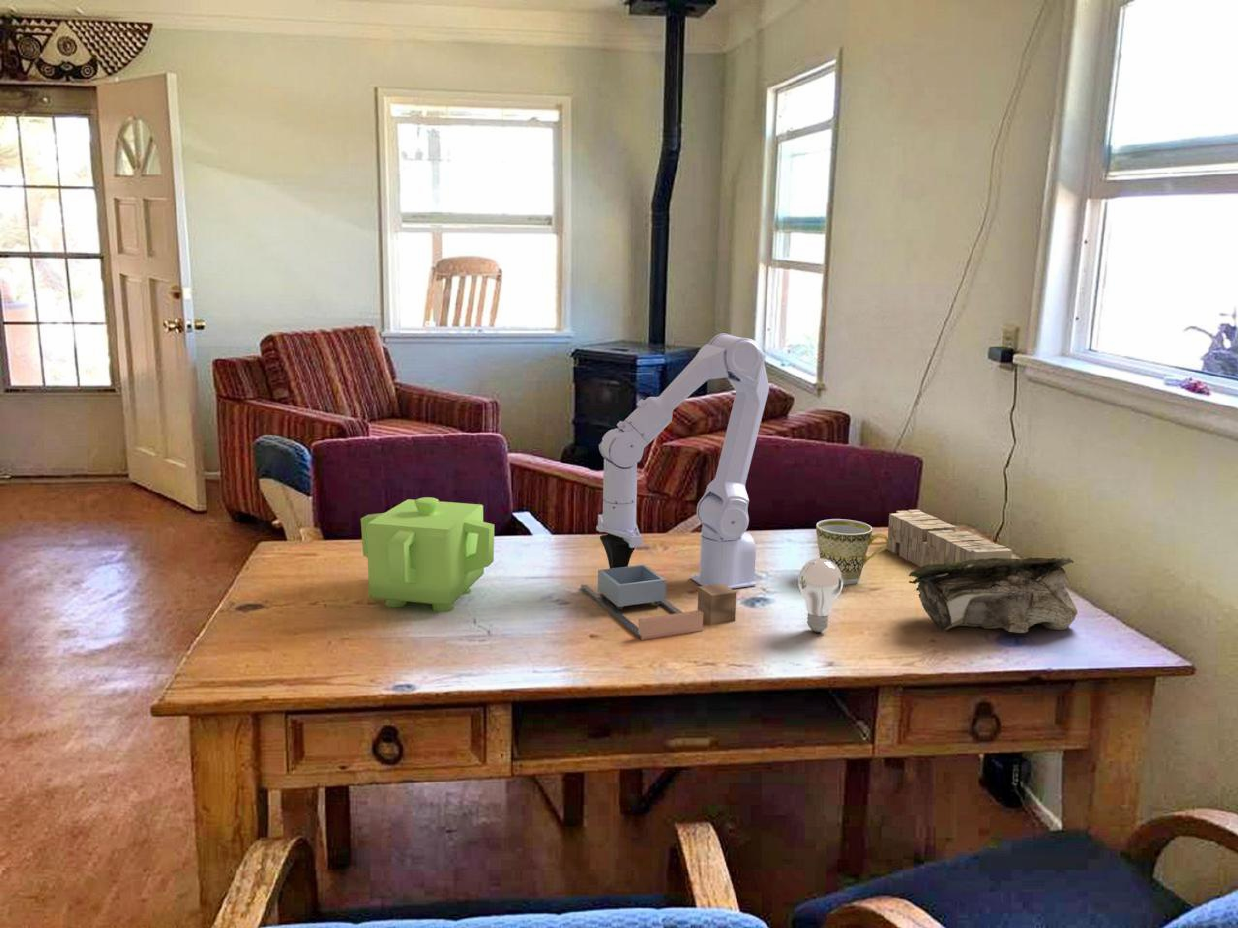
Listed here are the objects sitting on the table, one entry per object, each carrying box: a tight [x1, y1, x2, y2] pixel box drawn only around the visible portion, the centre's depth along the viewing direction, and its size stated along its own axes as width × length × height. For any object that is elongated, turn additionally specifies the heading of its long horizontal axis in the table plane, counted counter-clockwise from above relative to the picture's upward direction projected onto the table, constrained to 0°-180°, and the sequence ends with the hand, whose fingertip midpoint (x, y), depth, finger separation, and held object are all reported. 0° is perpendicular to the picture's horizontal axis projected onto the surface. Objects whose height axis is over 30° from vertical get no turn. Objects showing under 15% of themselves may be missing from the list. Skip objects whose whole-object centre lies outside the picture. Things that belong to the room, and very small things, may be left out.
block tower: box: [886, 509, 1013, 577], centre depth 191 cm, size 8×8×29 cm
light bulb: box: [797, 557, 844, 634], centre depth 157 cm, size 7×7×12 cm
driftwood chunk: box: [908, 556, 1079, 634], centre depth 160 cm, size 28×13×15 cm
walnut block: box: [697, 583, 738, 626], centre depth 163 cm, size 4×4×5 cm
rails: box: [580, 584, 704, 641], centre depth 167 cm, size 11×25×3 cm, turn 24°
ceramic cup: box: [815, 518, 889, 586], centre depth 182 cm, size 13×10×10 cm
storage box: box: [360, 496, 495, 613], centre depth 169 cm, size 25×23×17 cm
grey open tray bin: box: [597, 564, 667, 611], centre depth 169 cm, size 9×9×5 cm
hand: (618, 576), depth 174 cm, fingers closed
